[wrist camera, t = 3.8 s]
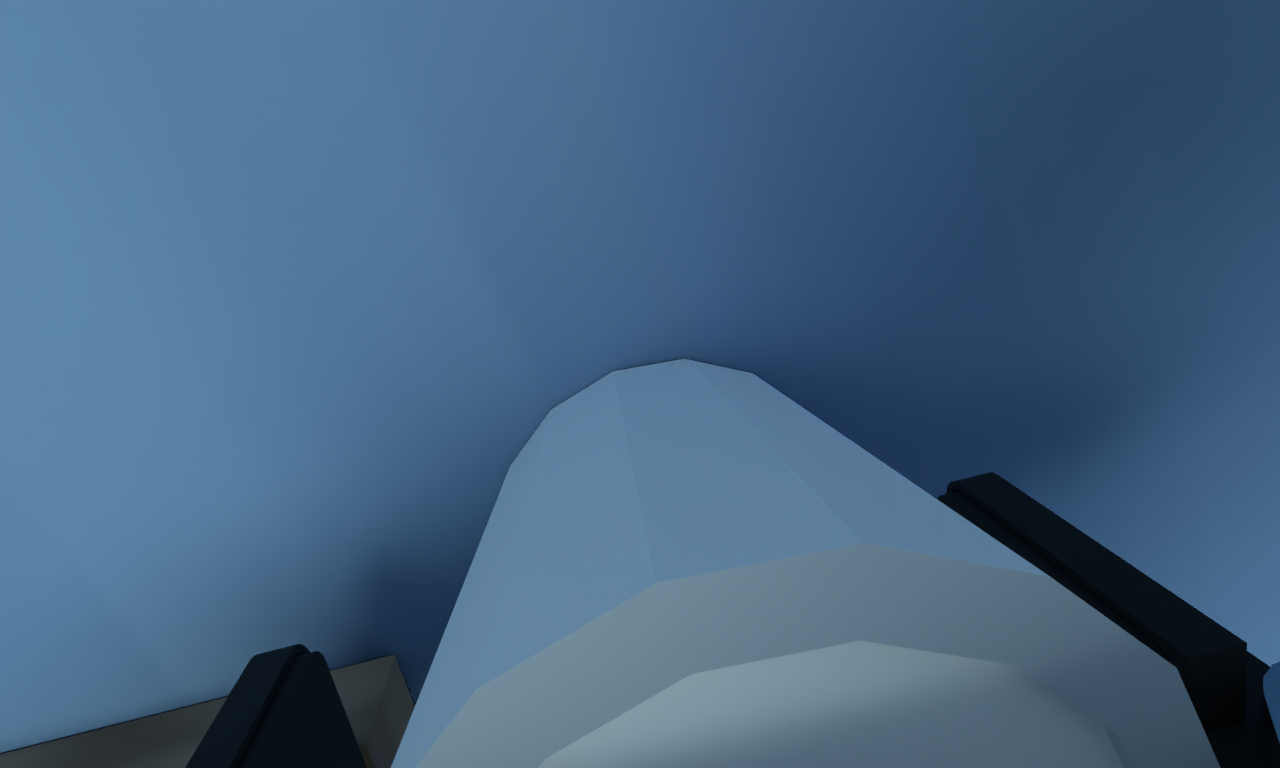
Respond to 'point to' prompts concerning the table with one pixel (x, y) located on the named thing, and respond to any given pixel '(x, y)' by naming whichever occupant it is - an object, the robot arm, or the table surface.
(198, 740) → the stand
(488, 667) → the white cup
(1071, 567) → the robot arm
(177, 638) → the table surface
